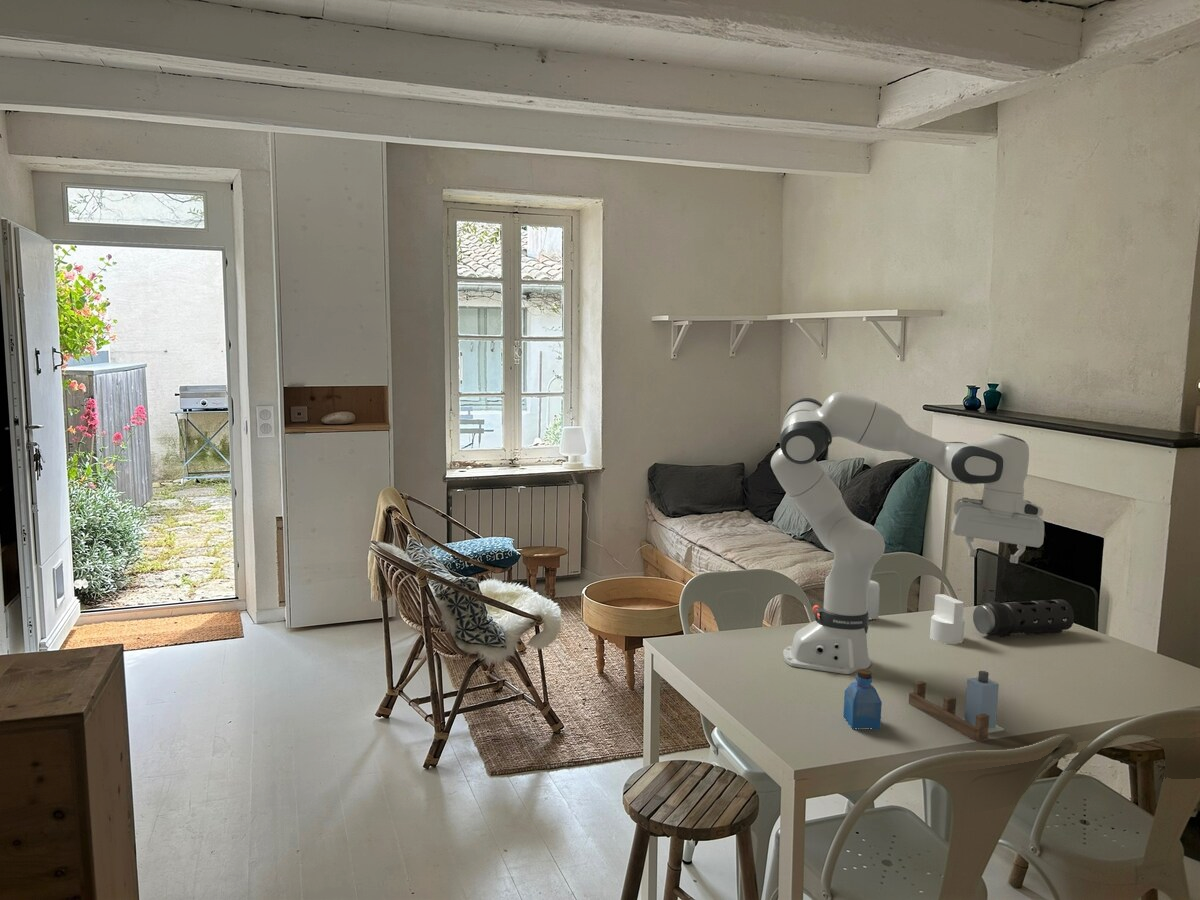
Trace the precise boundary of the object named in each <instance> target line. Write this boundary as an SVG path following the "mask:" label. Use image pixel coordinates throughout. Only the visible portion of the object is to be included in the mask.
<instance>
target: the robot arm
mask: <svg viewBox="0 0 1200 900" xmlns="http://www.w3.org/2000/svg"><path fill="white" fill-rule="evenodd" d="M833 438H843V439H845V440H848V441H850V442H853V443H856V444H857V445H859V446H862V447H865V448H866V447H867V448H869V449H873V450H877V451H882V452H898V453H903V454H906V455H908V456H910V457H913V458H915V459H918V460H921V461H923V462H924V463H927V464H929V465H931V466H933V468H935V469H936V470H937V471H938V472H939V474H941V476H943V477H944V478H945V479H947V480H949V481H951V482H954V483H959V484H964V485H978V484H979V485H980V484H983V491H982V498H981V499H980V498H979V499H978V498H968V497H962V498H959V499H957V500H956V501H955V502H954V506H953V512H954V516H953V520H952V523H951V528H950V530H951V532H952V533H953V534H954V535H955V536H960V537H965V543H966V546H967V548H968V553H967V554H968V555H967V556H968V557H972V558H976V557H977V551H978V550H977V549H976V548H973V544H972V543H974V539H980V540H986V541H993V542H1000V543H1005V544H1012V545H1016V549H1018V550H1017V551H1016V552H1015V553H1014V554H1010V556H1009V563H1011V564H1019V563H1018V562H1019V557H1021V556H1022V555H1023V553H1024V552H1025V551H1026V547H1033V548H1040V547H1041V546H1042V545H1044V538H1045V522H1044V520H1043V519H1042V516H1043V513H1044V509H1043V508H1042V507H1041V506H1039V505H1038V504H1037V505H1036V504H1035V503H1032V502H1031V501H1029V500H1025V498H1024V495H1025V489H1024V485H1025V484H1024V482H1025V481H1026V478H1027V475H1028V471H1029V470H1028V469H1029V461H1030V447H1029V445H1028V443H1027V441H1025V440H1024V439H1022V438H1020V437H1017V436H1014V435H1013V436H1012V435H1008V434H1004V433H997V434H995V435H993V436H991V437H990V438H987V439H984V440H980V441H976V442H972V443H967V442H962V441H950V442H949V441H944V440H939V439H937V438H935V437H933V436H929V435H927V434H925V433H922V432H920V431H918V430H916V429H914V428H912V427H910V426H909V424H907V423H906V421H905V420H904V418H903V416H902V415H901V414H900V413H898V412H896V411H895V410H893V409H892V408H890V407H888V406H887V405H884V404H882V403H880V402H877V401H875V400H873V399H870V398H866V397H864V396H860V395H857V394H853V393H849V392H844V391H836V392H833V393H831V394H830V395H829V396H828V397H826V399H825V400H824V402H823V404H822V403H821V402H820V401H819V400H817V399H815V398H812V397H811V398H810V397H802V398H800V399H797V400H795V401H793V403H792V404H791V405H789V407H788V408H787V410H786V413H785V416H784V418H783V420H782V423H781V432H780V436H779V446H780V448H778V449H777V450H776V451H775V452H774V453H773V455H772V456H771V459H770V467H771V470H772V472H773V474H774V475H775V477H776V479H777V481H778V483H779V485H780V486H781V487H782V489H783V490H784V492H785V493H786V495H787V496H788V497H789V498H790V500H792V502H793V503H794V505H796V507H797V508H798V509H799V511H800V512H801V513H802V515H803V516H804V517H805V518H806V520H807V522H808V523H809V525H810V527H811V529H812V530H813V532H814V534H815V535H816V537H817V538H818V540H819V542H820V543H821V544H822V545H823V547H824V548H825V549H826V550H828V551H830V552H831V553H833V556H834V559H833V562H832V563H833V564H832V566H831V570H830V572H829V574H828V575H827V576H826V577H825V580H824V594H823V606H821V607H820V605H818V604H815V605H813V606H812V611H813V612H812V613H814V621H812V622H810V623H809V624H807V625H805V626H804V627H802V628H799V629H798V630H797V631H796V632H795V634H794V636H793V639H792V642H791V645H788V646H786V647H785V648H784V649H783V651H782V659H783V661H784V662H785V663H786V664H787V665H789V666H790V667H796V668H802V669H809V670H816V671H822V672H830V673H835V674H837V673H838V674H843V675H850V674H853V673H855V672H857V670H858V669H868V668H869V667H871V661H870V657H869V652H868V649H869V648H868V643H867V642H868V641H867V639H868V638H867V637H868V636H867V633H868V630H869V621H870V620H869V616H868V611H867V602H868V589H869V582H870V580H871V577H872V575H873V571H874V568H875V565H876V564H877V562H879V560H881V559H882V557H883V556H884V553H885V549H886V543H885V539H884V537H883V535H882V534H881V533H880V531H879V530H878V529H876V527H874V526H873V525H872V524H870V523H869V522H866V521H864V520H862V519H859V518H858V517H857V516H855V515H854V514H853V512H852V511H850V509H849V507H848V506H847V504H846V502H845V500H844V498H843V497H842V496H843V495H842V492H841V491H840V489H839V488H838V486H836V484H835V483H834V481H833V480H832V479H831V477H830V476H829V475H828V474H827V472H826V471H825V470H824V469H823V467H822V466H821V465H820V463H819V462H818V461H817V460H816V459H817V458H818V457H820V455H822V453H823V452H824V451H825V450H826V449H827V448H828V447H829V446H830V445H831V444H832V442H833Z"/></svg>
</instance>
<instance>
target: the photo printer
mask: <svg viewBox="0 0 1200 900" xmlns="http://www.w3.org/2000/svg"><path fill="white" fill-rule="evenodd" d="M880 590H881V588H880V583H878V581H875V580H872V579H870V582H869V589H868V602H867V611H868V616H869V618H871V619H869V621H873V620H872V619H877V620H878V619H879V614H880V613H879V612H880V611H879V610H880Z"/></svg>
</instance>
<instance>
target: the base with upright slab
mask: <svg viewBox="0 0 1200 900" xmlns="http://www.w3.org/2000/svg"><path fill="white" fill-rule="evenodd" d="M964 606H965V605H964V602H963V601H961V600H959V599H956V598H954V597H951V596H949V595H947V594H945V593H944V594H942V593H941V594H940V593H938V594H934V608H933V609H934V611H933V614H932V615H931V617H930V628H929V629H930V631H929V632H930V633H929V638H930V639H931V640H932V639H933V640H932V641H934V640H935V641H934V642H936V641H938V642H937V643H939V642H942V643H941V644H944V643H948V644H947V645H959V644H958V643H961V644H963V643H962V642H964V636H965V619H964V617H963V616H964Z"/></svg>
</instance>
